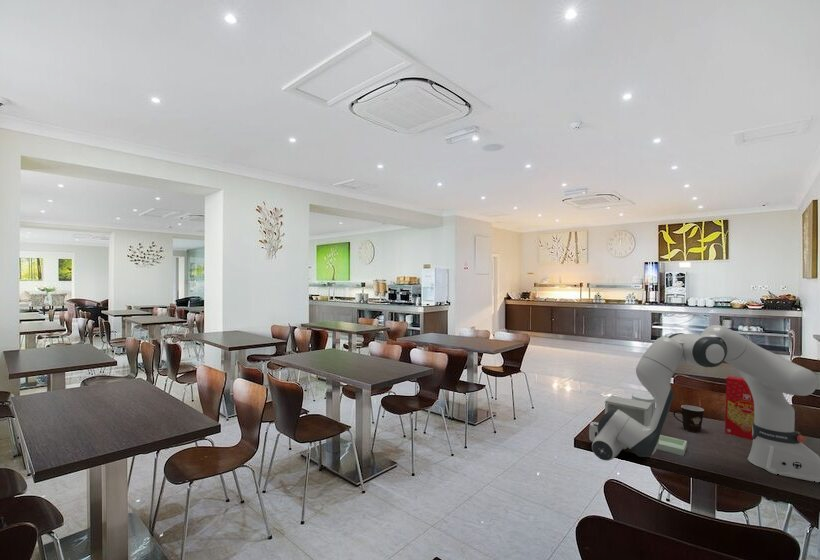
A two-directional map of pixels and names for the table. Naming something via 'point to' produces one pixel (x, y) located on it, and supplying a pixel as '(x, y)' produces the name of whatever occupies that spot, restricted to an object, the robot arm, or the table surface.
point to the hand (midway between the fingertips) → (621, 428)
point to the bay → (631, 408)
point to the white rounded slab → (645, 399)
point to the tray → (672, 445)
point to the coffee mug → (691, 418)
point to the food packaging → (739, 408)
